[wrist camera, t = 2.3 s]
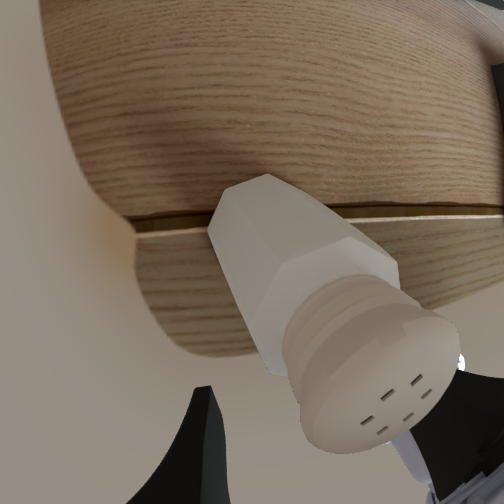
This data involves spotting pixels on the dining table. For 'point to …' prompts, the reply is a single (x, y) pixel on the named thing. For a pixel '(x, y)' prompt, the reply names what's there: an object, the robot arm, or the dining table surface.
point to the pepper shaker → (331, 316)
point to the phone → (494, 3)
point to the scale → (499, 85)
